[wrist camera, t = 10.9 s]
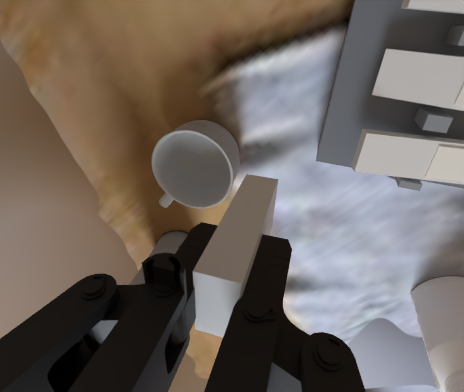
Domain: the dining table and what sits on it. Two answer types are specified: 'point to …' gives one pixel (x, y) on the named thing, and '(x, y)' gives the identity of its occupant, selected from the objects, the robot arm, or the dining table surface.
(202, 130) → the teacup
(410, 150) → the rocker
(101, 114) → the dining table surface
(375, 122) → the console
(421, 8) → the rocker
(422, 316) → the jar
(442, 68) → the rocker
